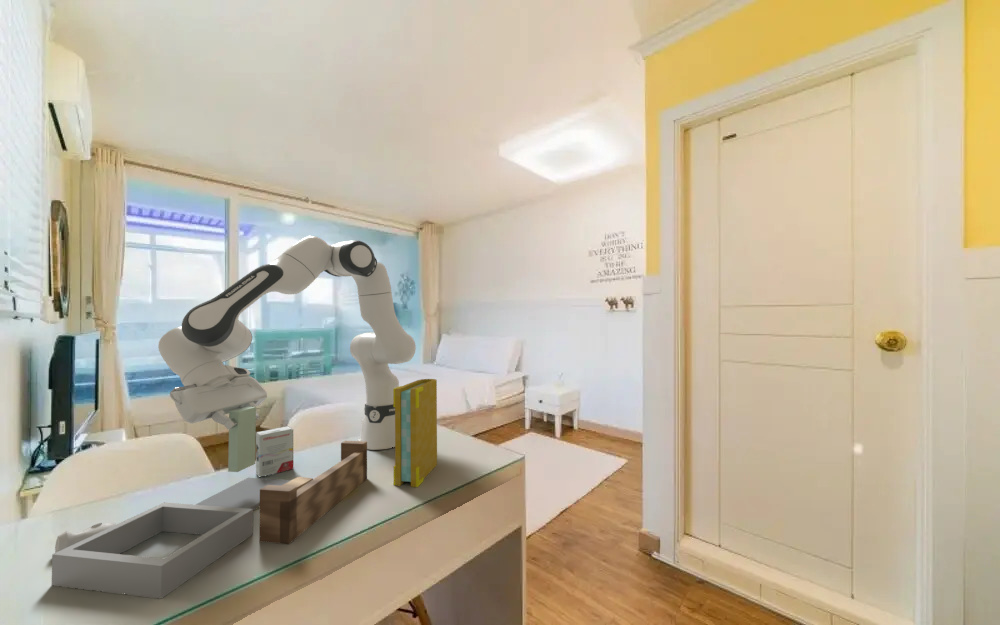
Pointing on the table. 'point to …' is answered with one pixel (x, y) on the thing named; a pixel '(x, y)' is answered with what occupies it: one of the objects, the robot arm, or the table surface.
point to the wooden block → (298, 482)
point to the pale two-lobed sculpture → (79, 536)
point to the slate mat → (242, 494)
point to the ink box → (274, 451)
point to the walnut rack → (310, 496)
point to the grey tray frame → (112, 572)
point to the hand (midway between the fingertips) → (245, 423)
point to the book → (415, 431)
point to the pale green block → (242, 439)
